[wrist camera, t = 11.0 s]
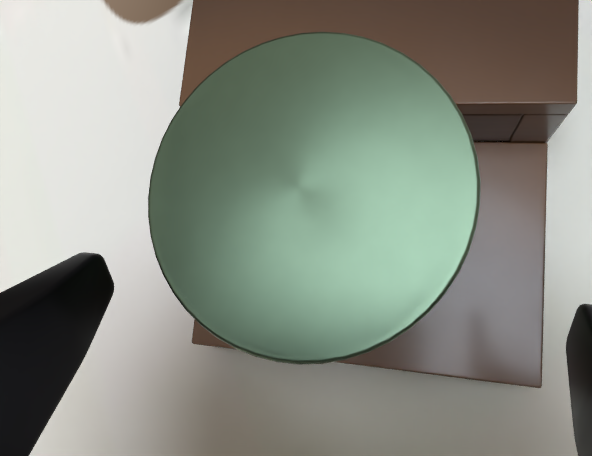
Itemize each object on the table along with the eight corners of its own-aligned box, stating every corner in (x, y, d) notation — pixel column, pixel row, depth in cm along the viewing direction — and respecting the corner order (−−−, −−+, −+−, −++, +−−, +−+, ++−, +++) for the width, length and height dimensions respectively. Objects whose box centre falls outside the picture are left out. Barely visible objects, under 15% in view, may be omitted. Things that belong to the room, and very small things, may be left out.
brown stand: (529, 380, 17) (572, 408, 12) (210, 340, 20) (145, 350, 15) (541, -39, 19) (581, -155, 15) (253, -18, 22) (207, -108, 18)
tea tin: (425, 359, 16) (433, 415, 8) (257, 309, 18) (107, 309, 9) (467, 183, 17) (517, 52, 8) (300, 151, 19) (197, 13, 10)
